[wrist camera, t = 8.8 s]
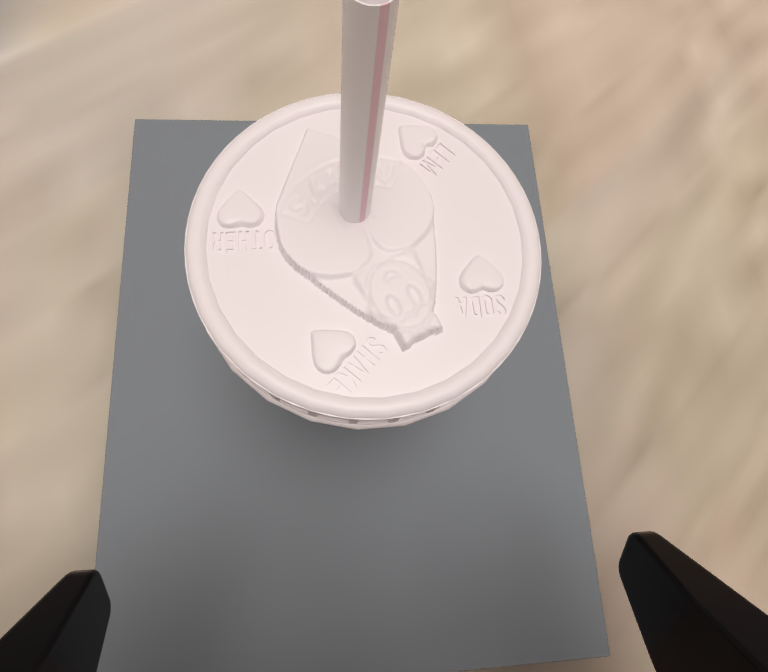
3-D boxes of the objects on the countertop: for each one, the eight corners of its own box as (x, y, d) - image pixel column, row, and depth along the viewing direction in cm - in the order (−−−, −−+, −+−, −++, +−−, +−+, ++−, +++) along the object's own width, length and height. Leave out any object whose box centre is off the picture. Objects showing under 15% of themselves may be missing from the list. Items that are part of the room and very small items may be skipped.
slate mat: (597, 648, 17) (610, 656, 16) (95, 696, 15) (82, 708, 15) (521, 137, 22) (527, 125, 22) (142, 132, 21) (135, 119, 20)
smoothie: (387, 251, 19) (508, -257, 6) (472, 400, 18) (862, 177, 5) (230, 323, 18) (-70, -126, 5) (309, 488, 17) (211, 526, 3)
